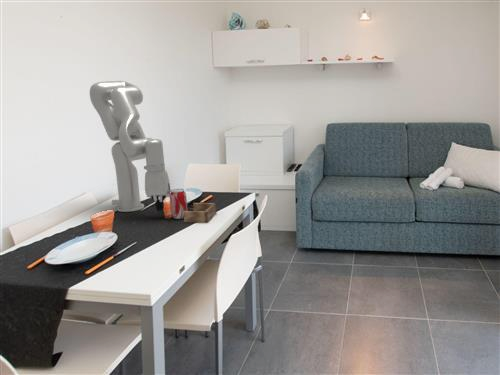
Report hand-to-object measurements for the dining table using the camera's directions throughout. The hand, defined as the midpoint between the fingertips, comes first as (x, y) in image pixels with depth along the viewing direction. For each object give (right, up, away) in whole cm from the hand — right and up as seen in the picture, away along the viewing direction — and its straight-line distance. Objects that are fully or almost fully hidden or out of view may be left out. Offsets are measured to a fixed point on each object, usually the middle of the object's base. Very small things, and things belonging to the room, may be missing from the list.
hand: (160, 210), depth 219 cm
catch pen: (+18, -3, -3) cm, 18 cm away
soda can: (+9, -3, -1) cm, 9 cm away
